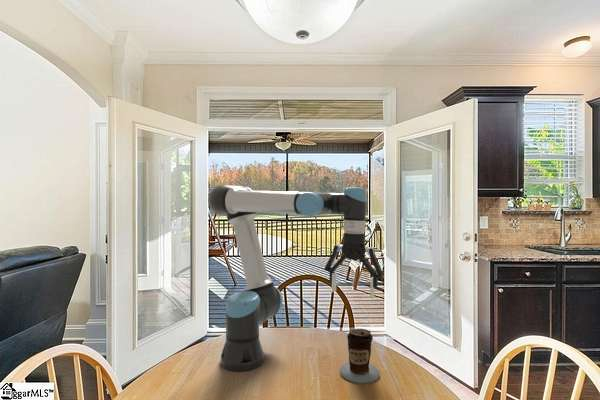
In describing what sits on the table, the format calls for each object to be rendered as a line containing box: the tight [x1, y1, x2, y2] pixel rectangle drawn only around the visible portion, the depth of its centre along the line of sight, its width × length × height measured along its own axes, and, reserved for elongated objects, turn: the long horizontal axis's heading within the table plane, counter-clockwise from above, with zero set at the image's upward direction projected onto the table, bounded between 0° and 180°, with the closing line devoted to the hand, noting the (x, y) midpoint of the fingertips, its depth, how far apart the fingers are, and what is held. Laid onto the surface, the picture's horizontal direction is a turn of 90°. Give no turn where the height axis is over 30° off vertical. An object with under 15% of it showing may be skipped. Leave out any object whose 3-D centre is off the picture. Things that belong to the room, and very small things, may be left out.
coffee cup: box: [346, 328, 374, 374], centre depth 116 cm, size 9×8×13 cm
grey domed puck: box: [339, 362, 380, 385], centre depth 116 cm, size 13×13×1 cm
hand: (352, 294), depth 120 cm, fingers open, 13 cm apart
